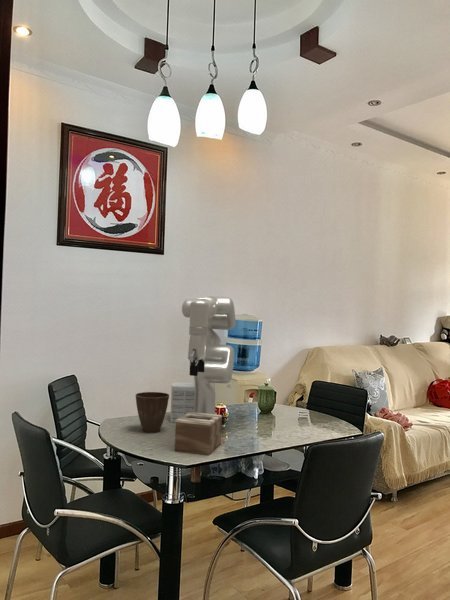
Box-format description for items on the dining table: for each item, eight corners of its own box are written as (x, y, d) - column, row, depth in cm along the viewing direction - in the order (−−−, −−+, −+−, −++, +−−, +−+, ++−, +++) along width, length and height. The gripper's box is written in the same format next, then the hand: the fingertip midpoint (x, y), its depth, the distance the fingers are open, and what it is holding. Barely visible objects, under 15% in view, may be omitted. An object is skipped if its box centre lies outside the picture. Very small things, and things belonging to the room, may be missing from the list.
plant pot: (127, 431, 225) (128, 395, 225) (147, 424, 238) (148, 390, 238) (155, 436, 218) (156, 399, 218) (174, 429, 231) (175, 394, 231)
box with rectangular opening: (188, 440, 214) (189, 411, 214) (220, 444, 210) (221, 415, 210) (174, 450, 198) (175, 419, 199) (209, 455, 195) (210, 423, 195)
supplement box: (171, 416, 258) (172, 381, 258) (197, 417, 259) (198, 382, 259) (169, 422, 245) (171, 386, 245) (197, 423, 245) (198, 386, 245)
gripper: (195, 329, 216) (194, 370, 216) (183, 332, 199) (181, 376, 199) (213, 330, 214) (211, 371, 214) (201, 333, 197) (200, 377, 198)
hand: (197, 373), depth 207 cm, fingers open, 9 cm apart
